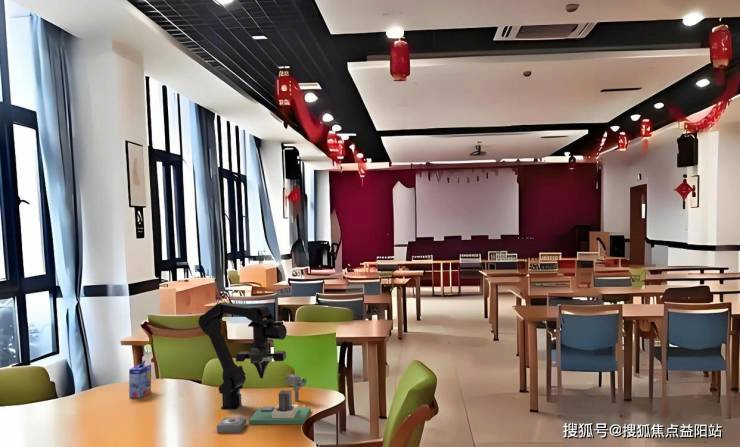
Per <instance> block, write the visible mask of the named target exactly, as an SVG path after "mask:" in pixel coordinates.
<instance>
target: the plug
mask: <svg viewBox="0 0 740 447" xmlns="http://www.w3.org/2000/svg"><path fill="white" fill-rule="evenodd" d="M292 393H293V391H292V390H291V389H290V390H289V389H288V390H280V391H279V392H278V405H279V411H281V412H287V411H292V405H293V397H292V396H293V394H292Z"/></svg>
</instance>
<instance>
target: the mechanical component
mask: <svg viewBox="0 0 740 447" xmlns="http://www.w3.org/2000/svg"><path fill="white" fill-rule="evenodd" d="M285 379H286V384H287V385H288V386H291V387H293V391H294V402H298V400H299V399H300V397H299V394H300V393H299V391H300V390H301V389H300V388H302V387H305V386H306V385H307V378H306V377H304V376H303V377H302V378H301V376H300V375H298V374H293V373H290V374H287V375H286V376H285ZM299 401H300V400H299Z"/></svg>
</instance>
